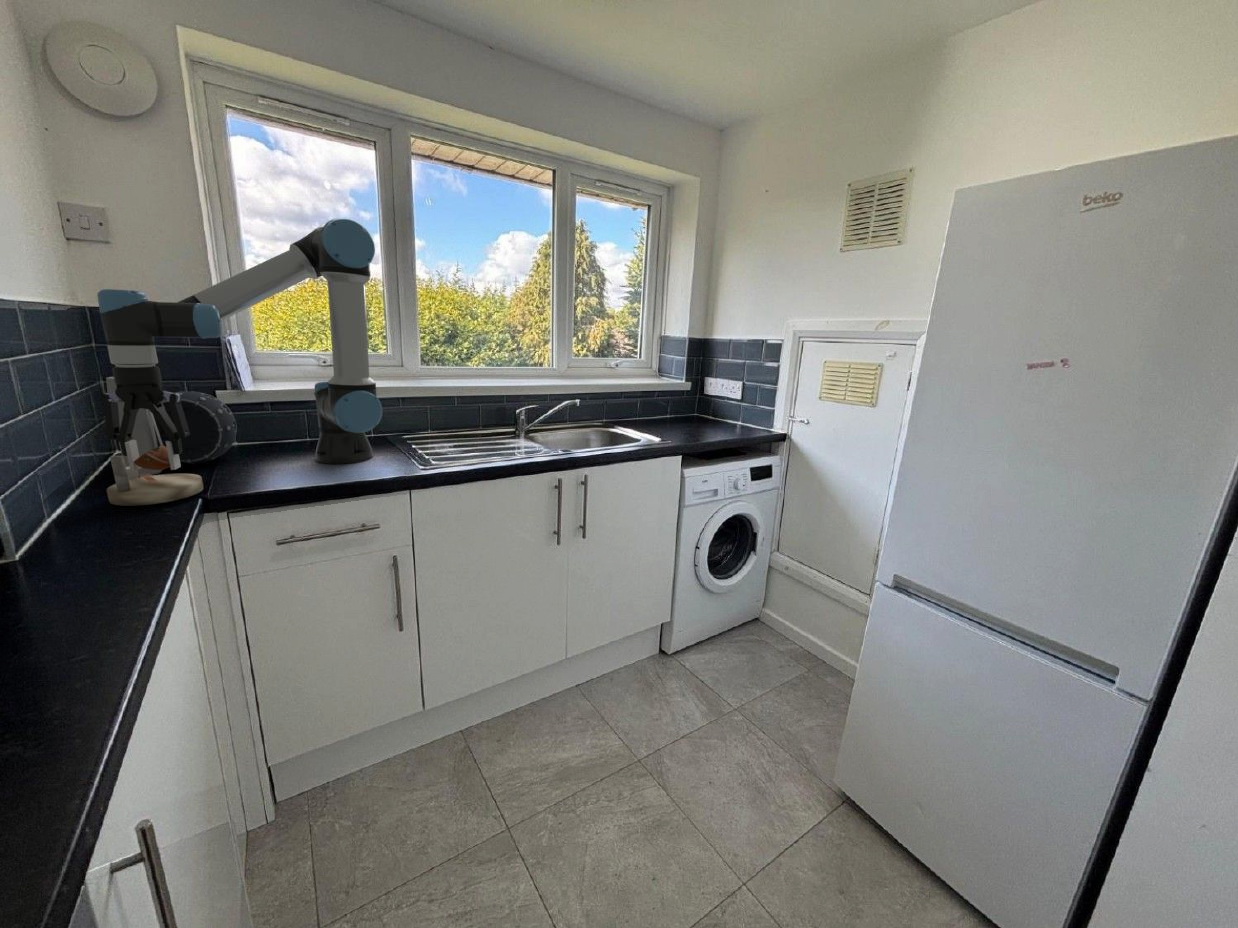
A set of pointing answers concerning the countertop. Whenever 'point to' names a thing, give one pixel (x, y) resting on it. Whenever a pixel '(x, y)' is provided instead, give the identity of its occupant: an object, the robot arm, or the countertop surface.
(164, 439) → the grey dotted bowl
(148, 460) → the fruit slice
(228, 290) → the robot arm
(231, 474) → the countertop surface
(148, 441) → the water bottle
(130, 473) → the grey rectangular block
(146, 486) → the beige round piece
